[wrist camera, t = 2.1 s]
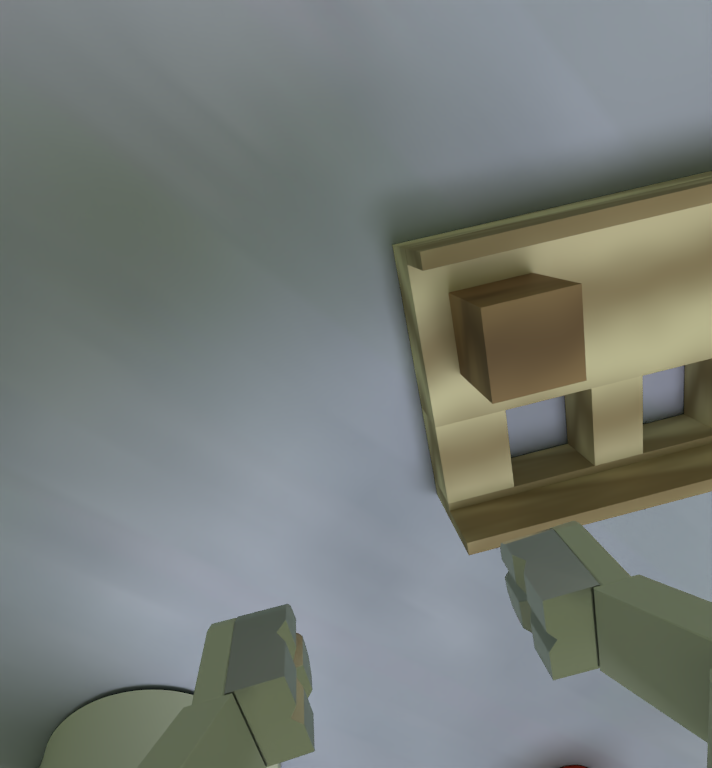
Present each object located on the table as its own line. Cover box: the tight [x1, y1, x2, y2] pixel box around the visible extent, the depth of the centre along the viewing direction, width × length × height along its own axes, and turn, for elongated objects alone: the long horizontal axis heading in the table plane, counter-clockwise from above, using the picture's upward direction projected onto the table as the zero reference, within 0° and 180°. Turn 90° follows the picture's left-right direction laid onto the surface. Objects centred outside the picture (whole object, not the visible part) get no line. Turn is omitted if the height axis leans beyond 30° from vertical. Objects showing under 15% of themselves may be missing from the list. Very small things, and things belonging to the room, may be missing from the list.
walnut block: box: [449, 273, 587, 404], centre depth 23 cm, size 4×4×4 cm
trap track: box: [392, 171, 712, 555], centre depth 26 cm, size 16×23×7 cm
